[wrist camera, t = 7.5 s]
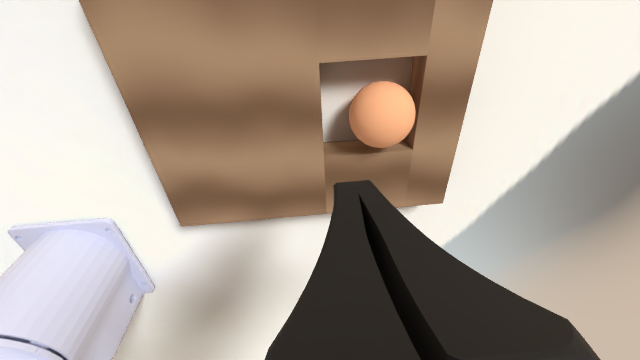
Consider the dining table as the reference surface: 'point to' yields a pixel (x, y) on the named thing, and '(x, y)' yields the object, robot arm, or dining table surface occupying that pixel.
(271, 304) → the dining table surface
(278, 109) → the hole board
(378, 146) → the ball
